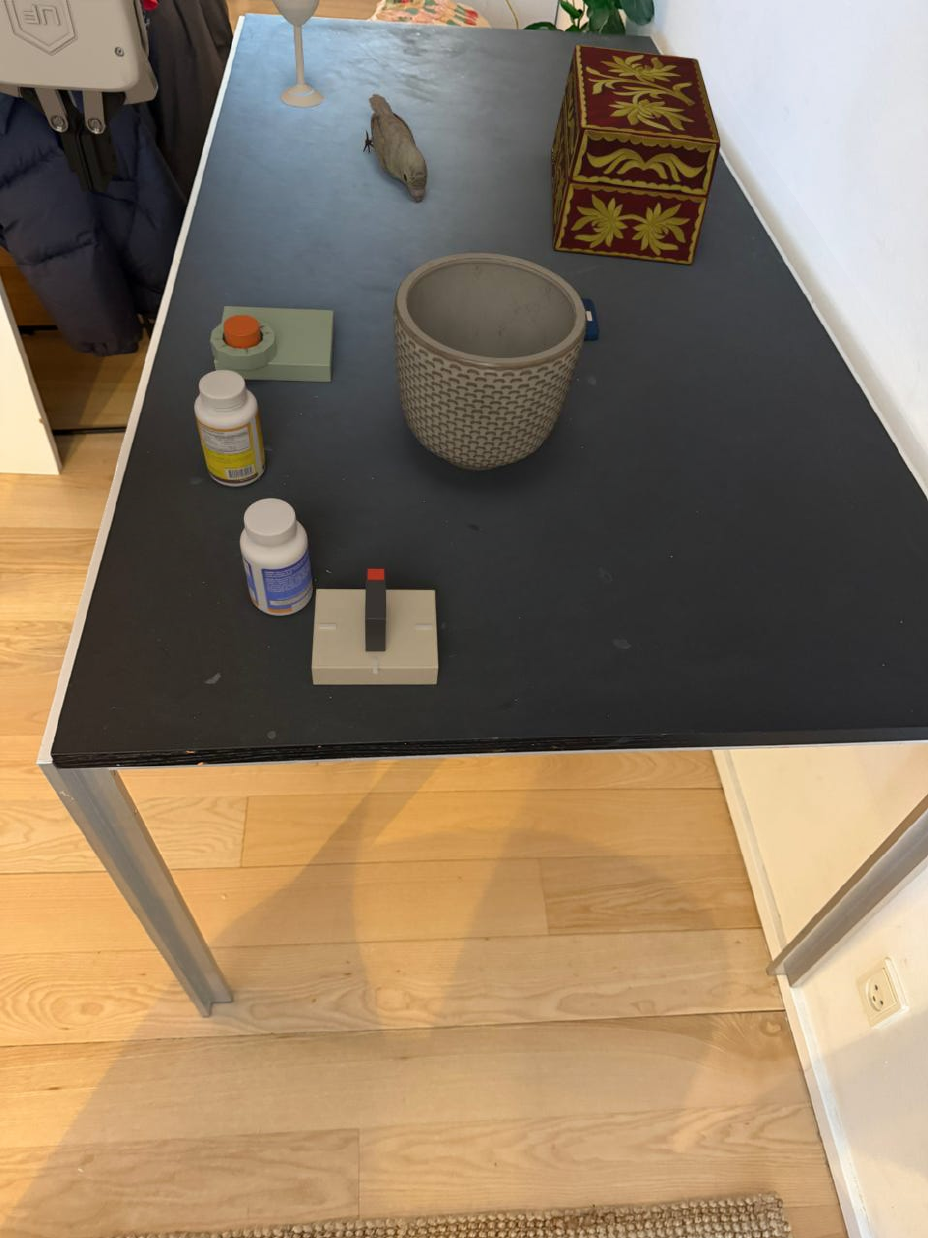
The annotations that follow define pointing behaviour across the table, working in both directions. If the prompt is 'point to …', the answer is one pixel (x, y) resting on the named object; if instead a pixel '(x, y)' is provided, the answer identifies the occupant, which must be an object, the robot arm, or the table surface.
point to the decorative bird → (396, 147)
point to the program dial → (375, 610)
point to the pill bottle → (276, 558)
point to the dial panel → (344, 639)
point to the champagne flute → (299, 50)
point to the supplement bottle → (229, 429)
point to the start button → (242, 331)
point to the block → (280, 345)
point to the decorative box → (632, 156)
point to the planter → (485, 355)
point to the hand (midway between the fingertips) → (98, 181)
